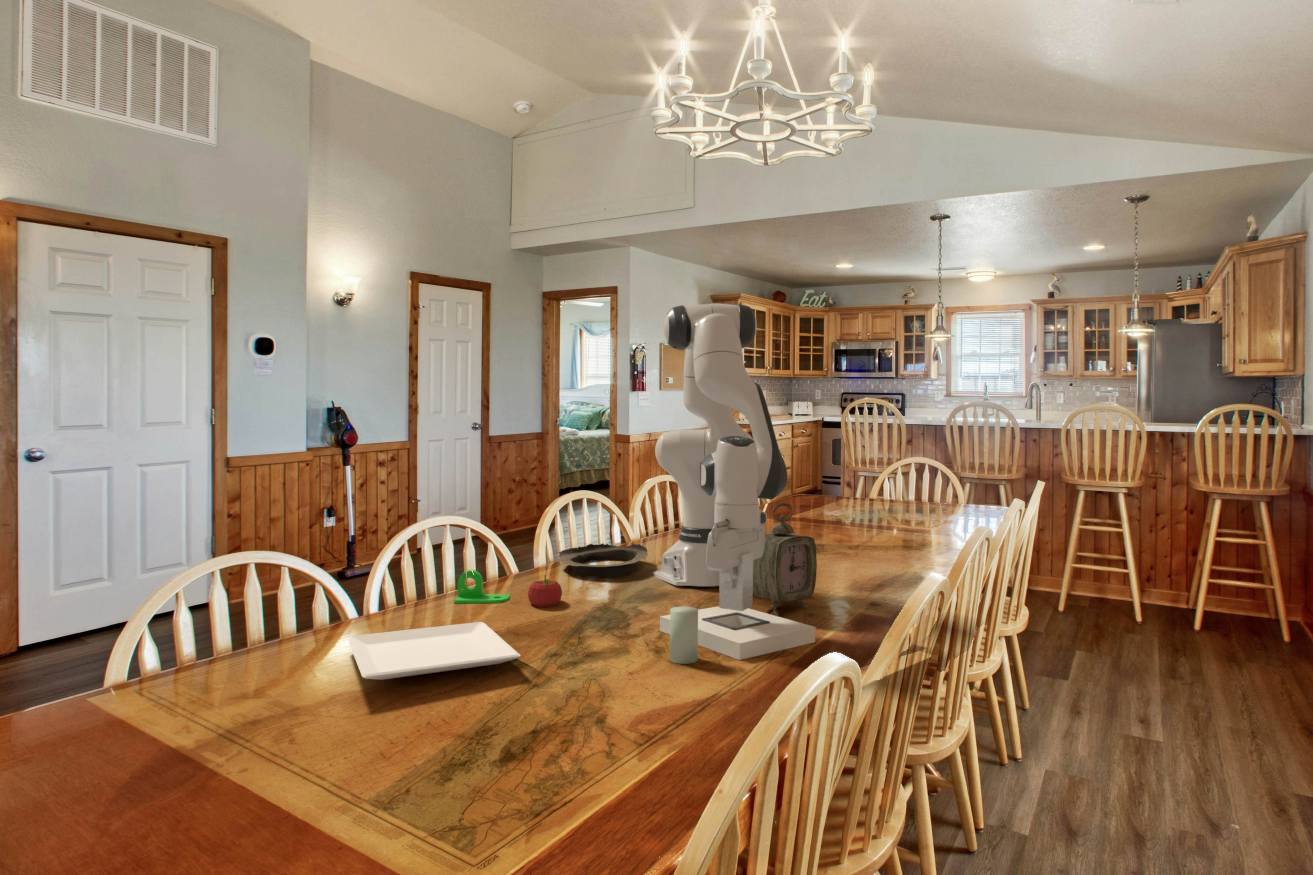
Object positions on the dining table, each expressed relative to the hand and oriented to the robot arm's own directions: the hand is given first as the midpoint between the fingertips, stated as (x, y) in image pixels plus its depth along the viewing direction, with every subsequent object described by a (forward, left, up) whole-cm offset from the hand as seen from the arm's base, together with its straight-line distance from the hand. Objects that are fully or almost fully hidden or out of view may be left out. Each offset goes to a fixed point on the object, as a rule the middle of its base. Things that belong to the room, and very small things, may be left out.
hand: (735, 586), depth 151 cm
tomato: (-43, -20, -10) cm, 49 cm away
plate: (-23, -54, -11) cm, 60 cm away
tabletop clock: (-9, +22, -10) cm, 26 cm away
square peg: (0, 0, -4) cm, 4 cm away
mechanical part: (-54, -30, -10) cm, 63 cm away
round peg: (+6, -18, -10) cm, 22 cm away
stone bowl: (-62, +8, -10) cm, 63 cm away
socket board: (0, 0, -10) cm, 10 cm away
